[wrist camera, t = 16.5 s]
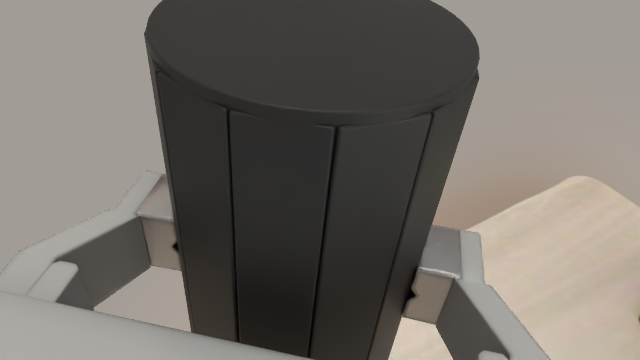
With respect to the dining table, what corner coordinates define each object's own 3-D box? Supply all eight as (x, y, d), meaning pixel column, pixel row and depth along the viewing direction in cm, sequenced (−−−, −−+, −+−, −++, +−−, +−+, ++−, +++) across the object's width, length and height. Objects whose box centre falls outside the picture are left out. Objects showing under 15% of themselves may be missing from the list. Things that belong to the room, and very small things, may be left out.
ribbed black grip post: (329, 317, 20) (386, -35, 11) (392, 454, 16) (554, 84, 7) (192, 356, 19) (130, -26, 9) (226, 521, 15) (174, 140, 6)
